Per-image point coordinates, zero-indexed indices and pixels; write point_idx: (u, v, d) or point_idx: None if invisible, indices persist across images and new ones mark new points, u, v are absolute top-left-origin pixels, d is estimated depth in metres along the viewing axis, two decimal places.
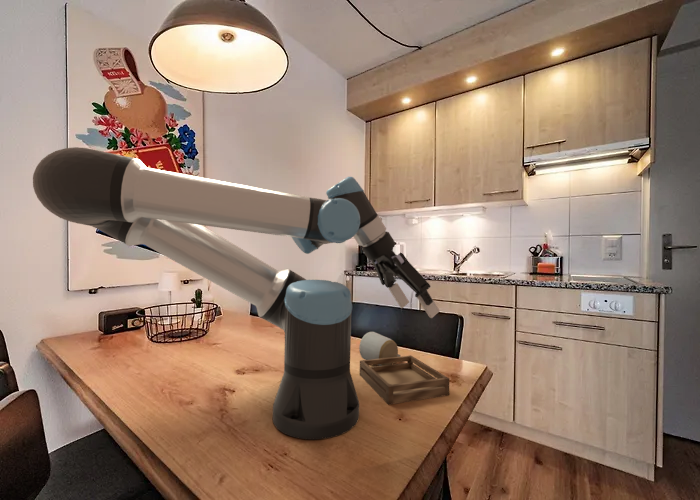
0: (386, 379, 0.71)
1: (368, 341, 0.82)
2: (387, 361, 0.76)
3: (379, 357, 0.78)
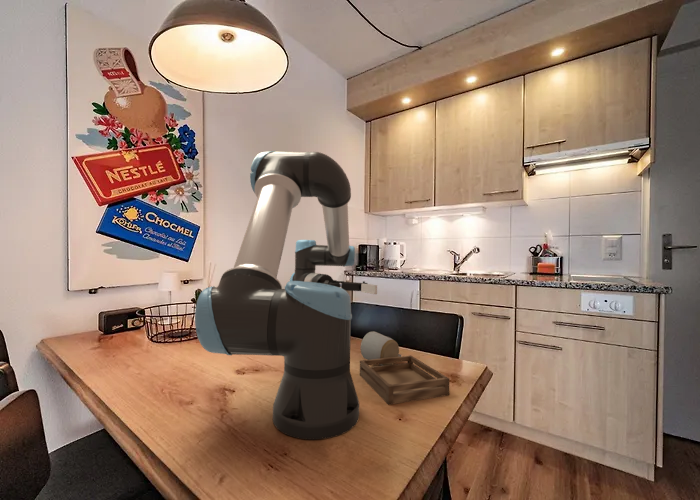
0: (386, 379, 0.71)
1: (369, 341, 0.82)
2: (387, 361, 0.76)
3: (380, 357, 0.78)
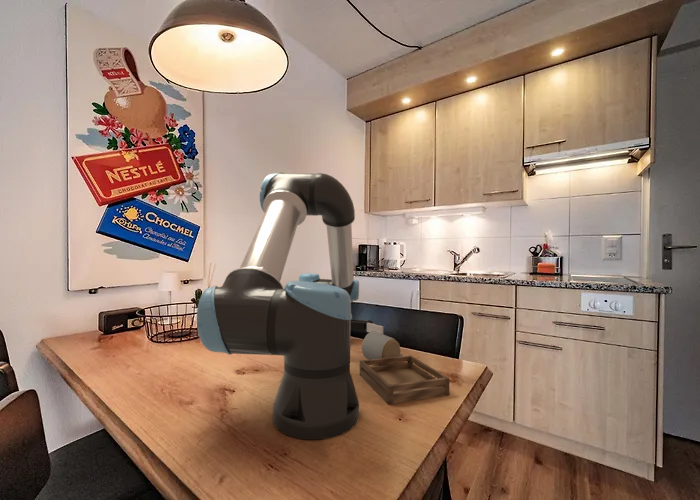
0: (386, 379, 0.71)
1: (371, 340, 0.82)
2: (387, 361, 0.76)
3: (382, 356, 0.78)
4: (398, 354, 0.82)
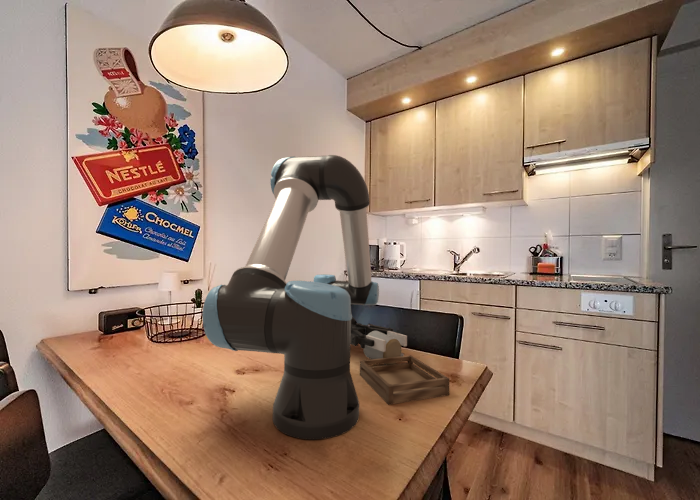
0: (386, 379, 0.71)
1: None
2: (387, 361, 0.76)
3: (383, 356, 0.79)
4: (399, 353, 0.82)
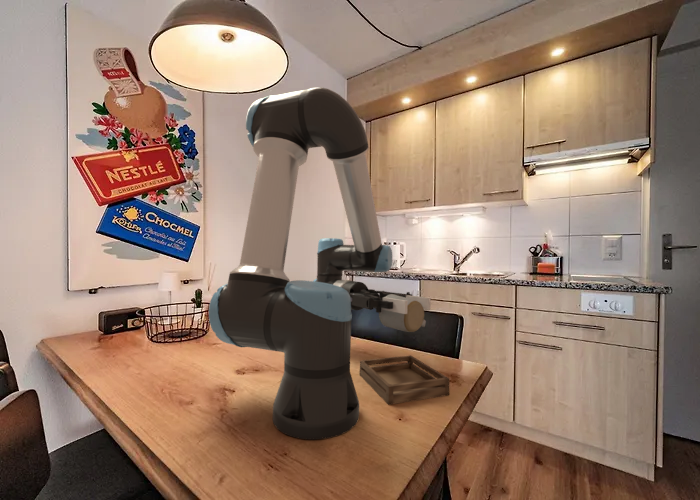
0: (386, 379, 0.71)
1: None
2: (387, 361, 0.76)
3: (404, 319, 0.66)
4: (422, 319, 0.69)
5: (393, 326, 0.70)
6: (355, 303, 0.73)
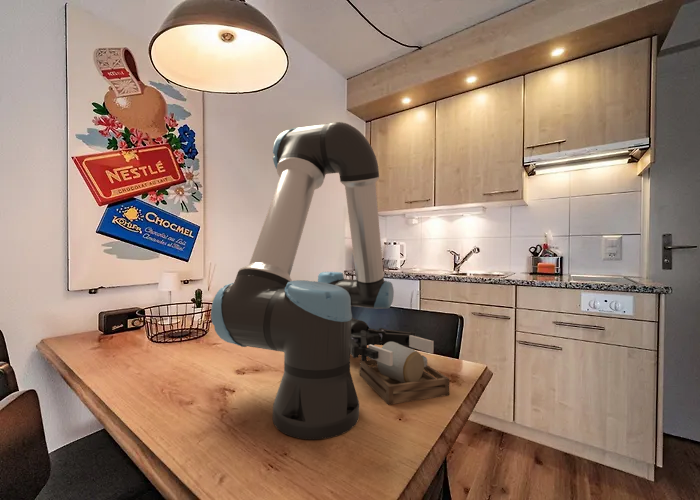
0: (386, 379, 0.71)
1: None
2: None
3: (404, 379, 0.64)
4: (422, 365, 0.67)
5: None
6: None
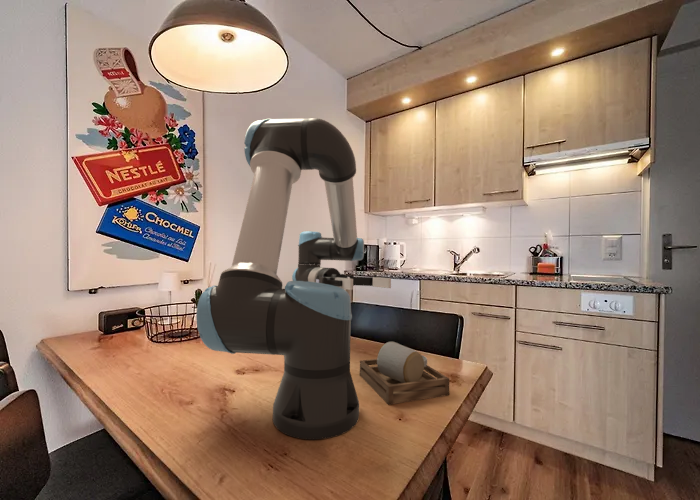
0: (386, 379, 0.71)
1: (386, 360, 0.67)
2: None
3: (404, 379, 0.64)
4: (422, 365, 0.67)
5: None
6: (319, 283, 0.86)
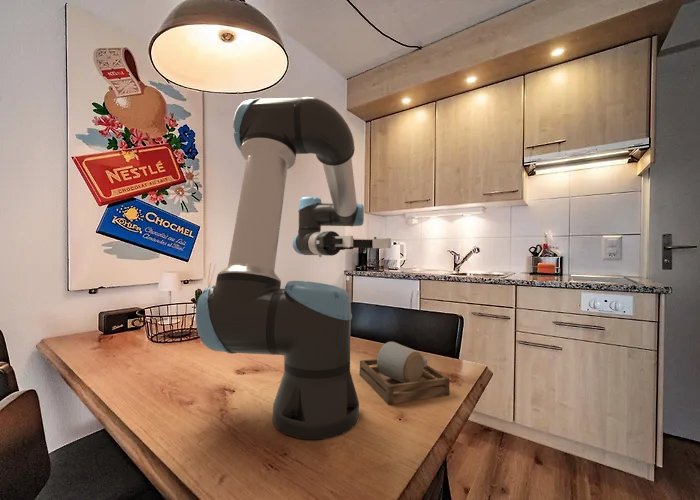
0: (386, 379, 0.71)
1: (386, 360, 0.67)
2: None
3: (404, 379, 0.64)
4: (422, 365, 0.67)
5: None
6: (320, 244, 0.87)
